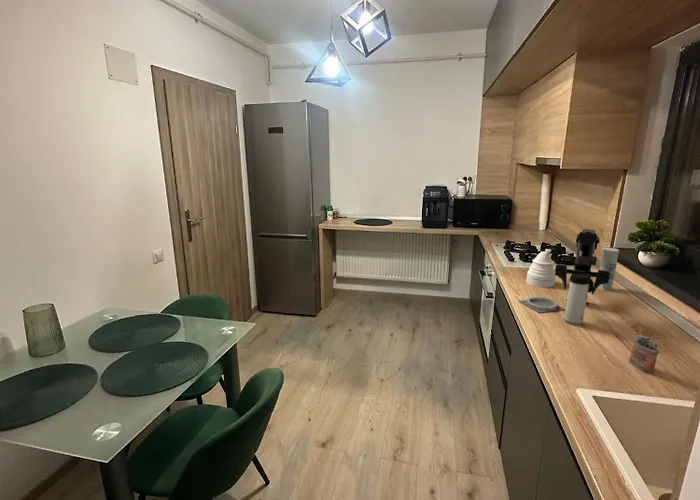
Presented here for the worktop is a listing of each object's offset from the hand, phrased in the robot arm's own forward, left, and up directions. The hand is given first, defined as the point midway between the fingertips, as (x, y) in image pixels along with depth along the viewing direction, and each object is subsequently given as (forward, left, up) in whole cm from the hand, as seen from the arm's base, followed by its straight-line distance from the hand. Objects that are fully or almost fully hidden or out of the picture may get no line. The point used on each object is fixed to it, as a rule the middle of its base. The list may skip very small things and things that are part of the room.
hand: (578, 291), depth 149 cm
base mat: (+3, -15, -12) cm, 19 cm away
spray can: (-41, -25, -12) cm, 49 cm away
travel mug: (+2, +2, -12) cm, 12 cm away
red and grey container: (+7, +34, -12) cm, 37 cm away
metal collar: (+3, -15, -12) cm, 19 cm away
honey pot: (-17, -40, -12) cm, 45 cm away
